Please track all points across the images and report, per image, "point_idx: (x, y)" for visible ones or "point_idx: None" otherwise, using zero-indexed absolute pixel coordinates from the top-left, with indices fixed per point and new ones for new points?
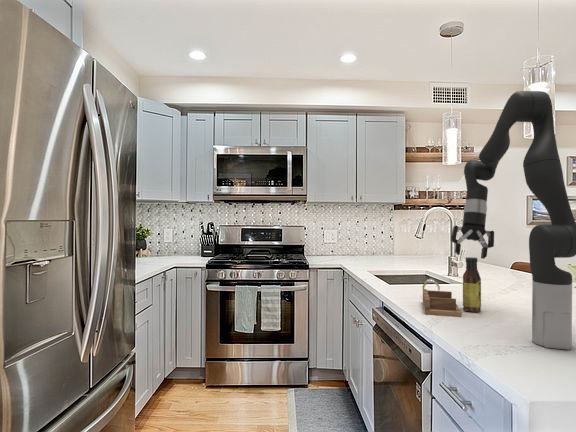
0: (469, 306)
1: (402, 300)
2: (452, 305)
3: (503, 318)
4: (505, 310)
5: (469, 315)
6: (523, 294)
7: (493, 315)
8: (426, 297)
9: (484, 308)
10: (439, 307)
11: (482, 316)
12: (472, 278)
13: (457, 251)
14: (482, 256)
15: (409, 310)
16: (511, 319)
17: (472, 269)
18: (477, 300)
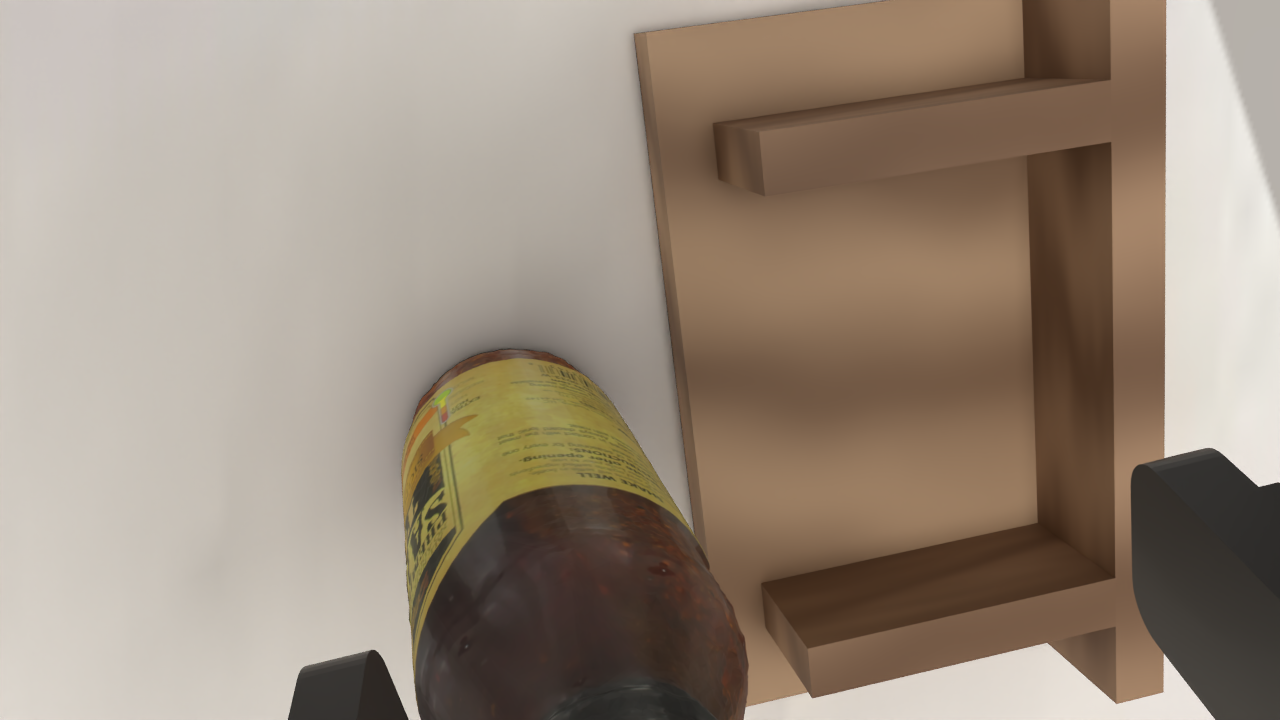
0: (550, 363)
1: None
2: (776, 120)
3: (118, 191)
4: (102, 668)
5: (539, 167)
6: None
7: (247, 307)
8: (1147, 98)
9: (362, 650)
10: (920, 94)
11: (382, 184)
12: (574, 533)
13: (1268, 510)
14: (381, 713)
15: (1206, 114)
16: (13, 179)
17: (605, 687)
18: (453, 415)
